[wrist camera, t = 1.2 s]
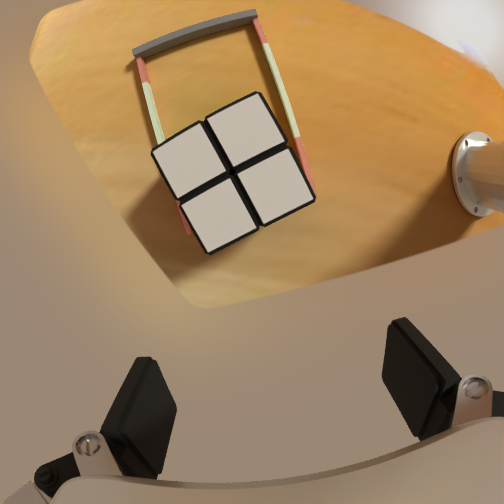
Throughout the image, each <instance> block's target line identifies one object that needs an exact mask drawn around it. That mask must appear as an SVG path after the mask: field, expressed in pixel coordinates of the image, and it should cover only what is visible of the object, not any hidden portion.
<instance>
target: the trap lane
mask: <svg viewBox="0 0 504 504" xmlns="http://www.w3.org/2000/svg"><path fill="white" fill-rule="evenodd" d="M252 23H253V26H254V28H255V31H256V33H257V35H258V38H259V41H260V43H261V46H262V48H263V51H264V53H265V56H266V59H267V61H268V64H269V67H270V70H271V72H272V75H273V78H274V81H275V84H276V87H277V89H278V92H279V95H280V98H281V101H282V104H283V107H284V110H285V113H286V117H287V120H288V123H289V126H290V129H291V133H292V136H293V139H294V142H295V146H296V149H297V153H298V156H299V160H300V163H301V167H302V169H303V171H304V173H305V175H306V177H307V179H308V181H309V183H310V185H311V187H312V189H313V191H314V193H315V195H316V191H315V187H314V183H313V179H312V176H311V172H310V168H309V165H308V161H307V158H306V154H305V151H304V147H303V144H302V140H301V137H300V134H299V130H298V127H297V124H296V121H295V118H294V115H293V111H292V108H291V105H290V102H289V99H288V96H287V93H286V91H285V88H284V85H283V82H282V79H281V76H280V74H279V71H278V68H277V65H276V63H275V60H274V57H273V55H272V52H271V50H270V47H269V45H268V42H267V39H266V37H265V35H264V32H263V30H262V27H261V25H260V22H259V20H258V14H257V12H256V10H255V9H252V10H247V11H243V12H238V13H234V14H230V15H226V16H222V17H218V18H215V19H211V20H208V21H204V22H201V23H198V24H195V25H192V26H189V27H186V28H183V29H180V30H177V31H175V32H172V33H169V34H167V35H164V36H162V37H159V38H157V39H154V40H152V41H150V42H147V43H145V44H143V45H141V46H139V47H136V48H134V49H132V52H133V56H134V57H136V61H137V65H138V69H139V74H140V78H141V82H142V86H143V90H144V94H145V98H146V102H147V106H148V110H149V114H150V117H151V121H152V125H153V128H154V132H155V136H156V139H157V143H158V145H159V144H160V143H162V142H163V141H165V138H164V134H163V131H162V127H161V124H160V120H159V117H158V113H157V109H156V105H155V102H154V98H153V94H152V90H151V86H150V82H149V78H148V74H147V70H146V66H145V62H144V59H145V58H147V57H149V56H151V55H154V54H156V53H158V52H161V51H163V50H166V49H168V48H171V47H174V46H176V45H179V44H182V43H185V42H187V41H190V40H193V39H196V38H199V37H202V36H206V35H209V34H212V33H216V32H219V31H223V30H227V29H230V28H234V27H239V26H243V25H247V24H252ZM316 198H317V195H316ZM174 199H175V198H174ZM175 202H176V205H177V208H178V211H179V214H180V217H181V220H182V223H183V226H184V229H185V232H186V234H187V235H191V234H192V233H193V231H192V229H191V228H190V226H189V224H188V222H187V221H186V219H185V217H184V215H183V213H182V212H181V210H180V208H179V204H180V201H177V200H175Z"/></svg>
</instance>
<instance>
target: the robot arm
mask: <svg viewBox="0 0 504 504" xmlns="http://www.w3.org/2000/svg"><path fill="white" fill-rule="evenodd" d="M452 178H453V184H454V188H455V192H456V195H457V197H458V199H459V201H460V203H461V205H462V206H463V207H464V209H465V210H466V211H468V212H469V213H470V214H473V215H475V216H479V217H485V216H488V215H490V214H491V213H493V212H494V211H495V210H497V211H500V212H503V213H504V142H494V141H493V140H492V139H491V138H490V137H489V136H488V135H486V134H485V133H482V132H479V131H473V132H468V133H466V134H464V135H463V136H462V137H461V138H460V140H459V141H458V143H457V145H456V147H455V150H454V154H453V160H452ZM382 379H383V382H384V384H385V385H386V387H387V389H388V391H389V392H390V394H391V396H392V398H393V400H394V401H395V403H396V405H397V407H398V408H399V410H400V412H401V414H402V416H403V418H404V419H405V421H406V423H407V425H408V427H409V429H410V430H411V432H412V434H413V436H415V437H417V436H418V438H419V440H420V442H418V443H415V444H413V445H410V446H408V447H405V448H402V449H400V450H397V451H394V452H391V453H389V454H386V455H383V456H380V457H377V458H374V459H370V460H367V461H364V462H360V463H357V464H353V465H349V466H345V467H341V468H337V469H333V470H329V471H324V472H319V473H314V474H309V475H303V476H296V477H290V478H283V479H274V480H265V481H252V482H233V483H197V482H177V481H164V480H157V476H158V474H161V473H162V470H163V465H164V461H165V457H166V453H167V449H168V444H169V440H170V436H171V432H172V428H173V424H174V420H175V416H176V412H177V407H176V404H175V402H174V400H173V397H172V395H171V393H170V391H169V389H168V386H167V384H166V382H165V380H164V378H163V375H162V373H161V370H160V368H159V366H158V363H157V361H156V360H153V359H152V358H151V357H137V358H136V359H135V362H134V363H133V365H132V367H131V369H130V371H129V373H128V375H127V377H126V379H125V381H124V382H123V384H122V386H121V388H120V390H119V392H118V394H117V396H116V398H115V400H114V402H113V405H112V406H111V408H110V410H109V412H108V414H107V416H106V419H105V420H104V423H103V425H102V427H101V430H100V432H96V431H86V432H83V433H82V434H80V435H78V436H77V437H76V439H75V440H74V442H73V445H72V449H73V452H72V453H70V454H67V455H65V456H63V457H61V458H58V459H56V460H54V461H51V462H49V463H46V464H44V465H42V466H41V467H39V468H38V469H37V471H36V472H35V476H34V481H35V482H34V483H33V482H32V481H29V482H28V483H27V484H25V485H24V486H23V487H22V488H20V489H19V490H18V491H16V492H15V493H13V494H12V495H11V496H10V497H8V498H7V499H6V500H5V501H4V504H504V392H500V391H493V388H492V384H491V382H490V381H489V380H488V379H487V378H486V377H484V376H482V375H477V374H476V375H469V376H466V377H465V378H463V379H462V378H461V377H460V376H459V374H458V373H457V372H456V371H455V370H454V369H453V367H452V366H451V365H450V364H449V363H448V362H447V361H446V359H444V357H443V356H442V355H441V354H440V353H439V352H438V351H437V350H436V348H435V347H434V346H433V345H432V344H431V343H430V342H429V341H428V340H427V339H426V338H425V337H424V336H423V334H421V332H420V331H419V330H418V329H417V328H416V327H415V326H414V325H413V324H412V323H411V322H410V321H409V320H408V319H407V318H406V317H403V318H399V319H396V320H393V321H392V322H391V324H390V325H389V326H388V329H387V339H386V348H385V355H384V363H383V370H382Z"/></svg>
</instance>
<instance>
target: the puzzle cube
mask: <svg viewBox="0 0 504 504" xmlns="http://www.w3.org/2000/svg"><path fill="white" fill-rule="evenodd" d="M287 141H288V139H287V137H286V136H285V134H284V132H283V130H282V128H281V126H280V125H279V123H278V121H277V119H276V117H275V116H274V114H273V112H272V110H271V109H270V107H269V105H268V103H267V102H266V100H265V98H264V97H263V95H262V93H260V92H257V91H255V92H253V93H251V94H249V95H247V96H244V97H242V98H240V99H238V100H236V101H234V102H232V103H230V104H228V105H226V106H224V107H222V108H220V109H219V110H217V111H215V112H213V113H211V114H209V115H207V116H206V117H205V120H204V122H203V121H199V120H198V121H197V122H195V123H193V124H191V125H190V126H188V127H186V128H185V129H183V130H181V131H180V132H178V133H176V134H175V135H173V136H171V137H170V138H168V139H166V140H165V141H163V142H162V143H160V144H159V145H157V146H156V147H154V148H152V151H151V156H152V158H153V160H154V162H155V163H156V165H157V167H158V169H159V171H160V173H161V175H162V177H163V178H164V180H165V182H166V184H167V186H168V188H169V189H170V191H171V193H172V195H173V197H174V198H175V200H177V201H180V204H179V208H180V210H181V212H182V213H183V215H184V217H185V219H186V221H187V222H188V224H189V226H190V228H191V229H192V231H193V233H194V235H195V236H196V238H197V240H198V242H199V243H200V245H201V247H202V248H203V250H204V252H205V253H206V254H209V255H212V254H214V253H216V252H217V251H219V250H221V249H223V248H225V247H227V246H229V245H231V244H233V243H235V242H237V241H239V240H241V239H243V238H245V237H247V236H249V235H250V234H252V233H254V232H256V231H258V230H259V227H260V225H261V226H264V227H266V226H268V225H270V224H272V223H274V222H276V221H278V220H280V219H282V218H284V217H286V216H288V215H290V214H292V213H294V212H296V211H298V210H300V209H302V208H304V207H306V206H308V205H310V204H312V203H314V202H315V199H316V195H315V193H314V191H313V189H312V187H311V185H310V183H309V181H308V179H307V177H306V175H305V173H304V171H303V169H302V167H301V165H300V163H299V161H298V159H297V157H296V155H295V153H294V151H293V149H292V147H290V146H287V145H286V144H287Z"/></svg>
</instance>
